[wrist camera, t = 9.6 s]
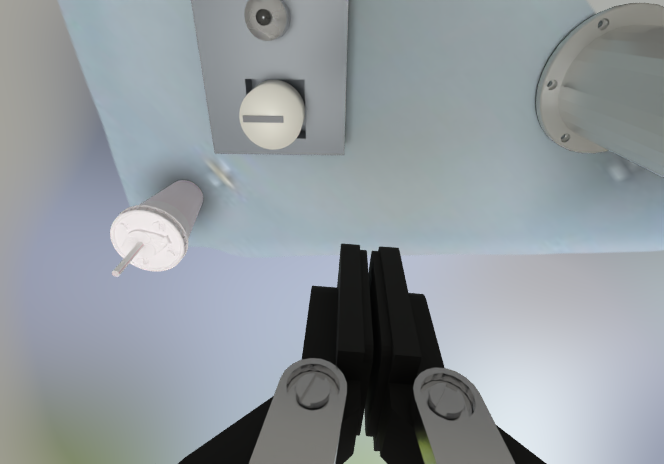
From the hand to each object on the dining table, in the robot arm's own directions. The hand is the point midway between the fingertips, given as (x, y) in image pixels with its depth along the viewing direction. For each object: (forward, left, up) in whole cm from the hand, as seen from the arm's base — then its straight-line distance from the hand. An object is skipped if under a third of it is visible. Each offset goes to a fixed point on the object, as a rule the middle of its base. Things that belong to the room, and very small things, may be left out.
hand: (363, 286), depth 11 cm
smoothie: (+17, +10, -28) cm, 34 cm away
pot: (+6, -7, -24) cm, 26 cm away
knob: (+6, 0, -27) cm, 27 cm away
